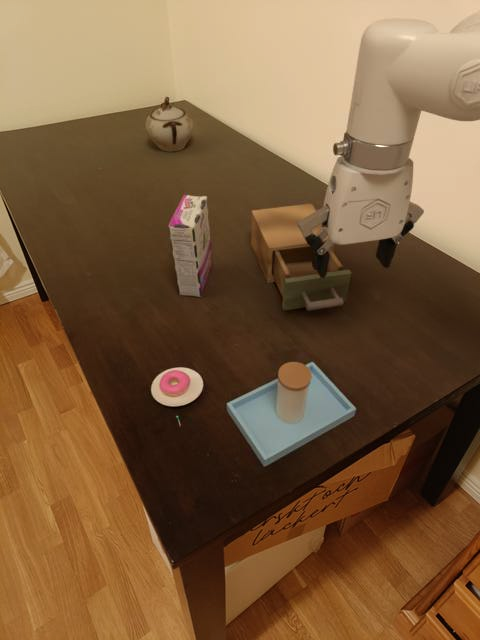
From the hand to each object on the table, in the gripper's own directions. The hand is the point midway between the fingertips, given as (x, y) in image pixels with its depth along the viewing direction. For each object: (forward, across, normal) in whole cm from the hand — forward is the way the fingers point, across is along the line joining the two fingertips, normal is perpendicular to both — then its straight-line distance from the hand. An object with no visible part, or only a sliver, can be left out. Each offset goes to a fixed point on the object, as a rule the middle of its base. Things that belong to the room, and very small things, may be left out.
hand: (351, 267), depth 62 cm
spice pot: (+18, -11, -10) cm, 23 cm away
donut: (+18, -27, -3) cm, 33 cm away
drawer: (+17, +1, +15) cm, 23 cm away
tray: (+18, -11, -10) cm, 24 cm away
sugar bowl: (+18, -18, +95) cm, 98 cm away
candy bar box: (+18, -20, +25) cm, 37 cm away
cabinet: (+18, +1, +28) cm, 33 cm away
